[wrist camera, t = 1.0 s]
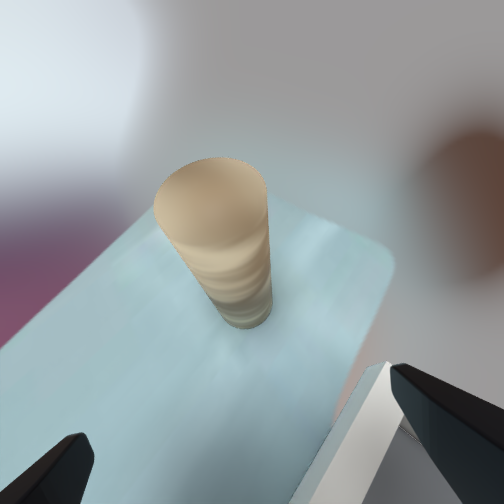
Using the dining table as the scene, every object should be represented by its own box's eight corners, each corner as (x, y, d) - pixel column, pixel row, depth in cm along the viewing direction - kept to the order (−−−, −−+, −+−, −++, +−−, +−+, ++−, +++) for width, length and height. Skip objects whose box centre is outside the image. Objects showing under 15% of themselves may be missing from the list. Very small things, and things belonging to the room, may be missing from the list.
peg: (248, 341, 21) (208, 266, 9) (208, 305, 23) (131, 205, 11) (283, 297, 22) (290, 185, 10) (243, 268, 24) (210, 144, 12)
